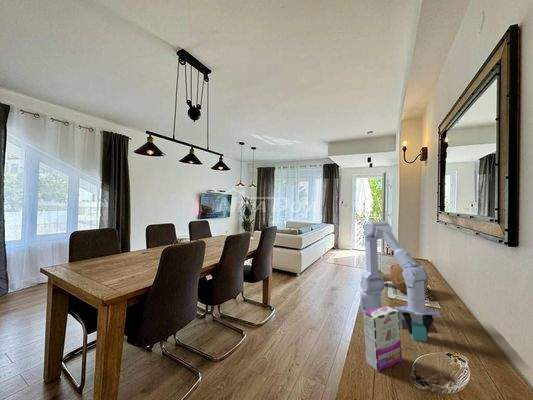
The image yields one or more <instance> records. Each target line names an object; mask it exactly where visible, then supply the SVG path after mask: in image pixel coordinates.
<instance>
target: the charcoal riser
mask: <svg viewBox="0 0 533 400" xmlns="http://www.w3.org/2000/svg"><path fill="white" fill-rule="evenodd" d="M410 316H411V318H412V321H416V322H422V323H423V318H422V316H419V315H416V314H410ZM399 325H400V327H401V329H405V330H408V326H407V323H406V321H405V319H404V316H403V315H402V313H399ZM428 332H431V327H430V328H429V331H428Z"/></svg>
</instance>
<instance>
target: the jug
mask: <svg viewBox="0 0 533 400" xmlns="http://www.w3.org/2000/svg"><path fill="white" fill-rule="evenodd" d="M414 261H415V262H416V263H418V264H419V265H421V266H423V265H422V264H421V263H419V261H416V260H414ZM390 270H391V271H390V273H383V272H382V271H381V270H379V269H378V273H379V274H381V275H382V276H383V281H384V283H385V282H390V283H392V284H393V286H394V287H395V288H397V290H399V291H401V292H403V293H405V294H407V285H406V284H405V279H404V277H403V275H402V272H403V270H402V268H401V267H400V265H399V264H398V263H397V264H395V265H394V266H390ZM428 286H429V277H428V276H427V279H426V280H424V294H425V293H426V292H427V290H428Z"/></svg>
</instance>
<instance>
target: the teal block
mask: <svg viewBox="0 0 533 400" xmlns="http://www.w3.org/2000/svg"><path fill="white" fill-rule="evenodd" d="M411 327H412V334H410V333H409V335H410V337H411V338H412V341H418V342H419V341H420V342H428V336H427V333H426V327H425V325H424V324H423V323H422V322H416V321H412V322H411Z"/></svg>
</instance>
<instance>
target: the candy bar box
mask: <svg viewBox="0 0 533 400" xmlns="http://www.w3.org/2000/svg"><path fill="white" fill-rule="evenodd" d="M362 316H363V331H364V332H363V333H364V344H365V345H364V347H365V363H366V364H367V365H368V366H370V367H371V369H374V370H375V371H376V372H380V371H383V370H386V369H388V368H390V367H392V366H394V365H396V364H397V365H398V364H400V363H401V362H403V358H402V357H403V356H402V343H401V328H400V327H401V325H400V323H399V311H398V310H396V309H395V308H393V307H392V306H391V307H390V306H389V305H384V306H382V307H380V308H377V309H374V310H370V311H367V312H362Z"/></svg>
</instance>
